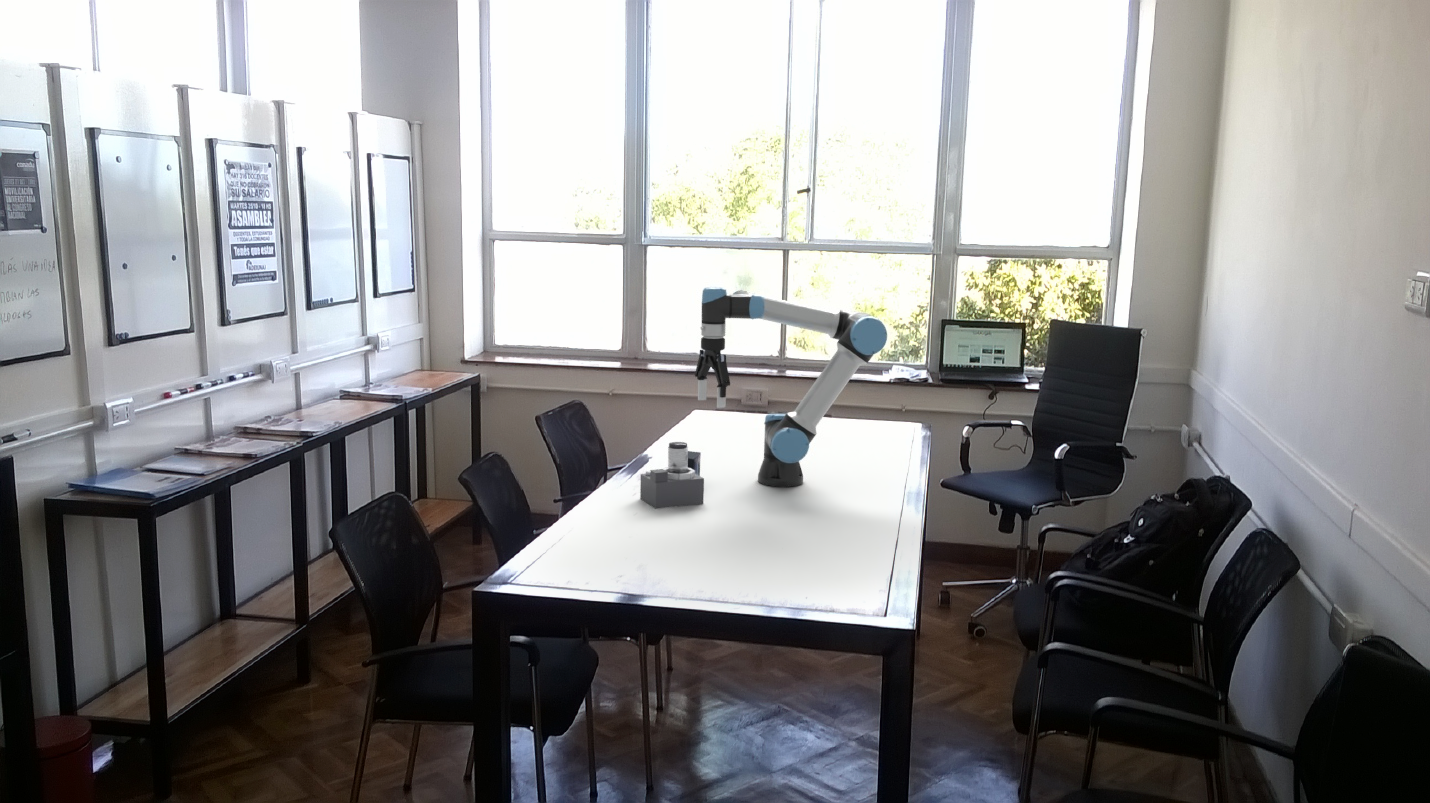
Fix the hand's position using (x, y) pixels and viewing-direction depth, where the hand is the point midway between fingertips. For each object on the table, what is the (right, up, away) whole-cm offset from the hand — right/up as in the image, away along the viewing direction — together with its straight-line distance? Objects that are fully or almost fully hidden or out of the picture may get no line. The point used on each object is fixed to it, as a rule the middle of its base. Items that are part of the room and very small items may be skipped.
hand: (711, 403), depth 347 cm
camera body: (-12, -30, -7) cm, 33 cm away
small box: (-8, -27, +13) cm, 31 cm away
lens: (-10, -22, -8) cm, 26 cm away
